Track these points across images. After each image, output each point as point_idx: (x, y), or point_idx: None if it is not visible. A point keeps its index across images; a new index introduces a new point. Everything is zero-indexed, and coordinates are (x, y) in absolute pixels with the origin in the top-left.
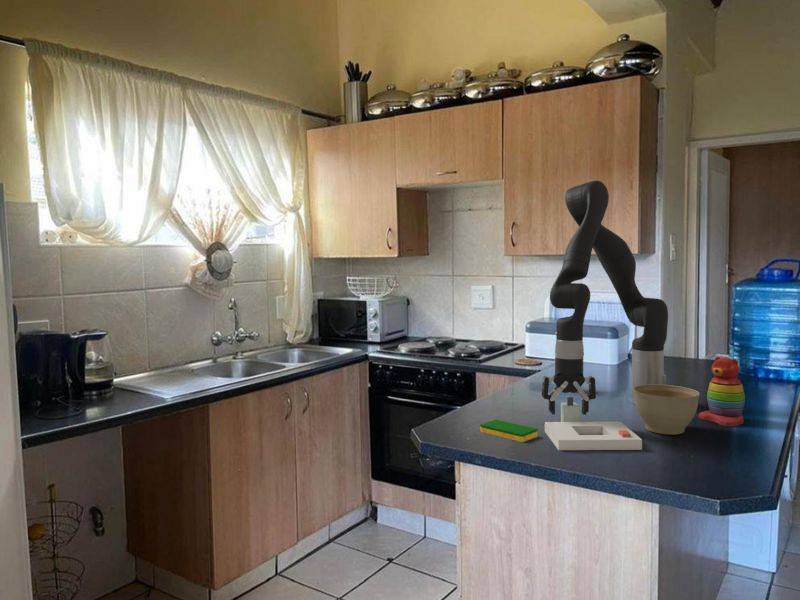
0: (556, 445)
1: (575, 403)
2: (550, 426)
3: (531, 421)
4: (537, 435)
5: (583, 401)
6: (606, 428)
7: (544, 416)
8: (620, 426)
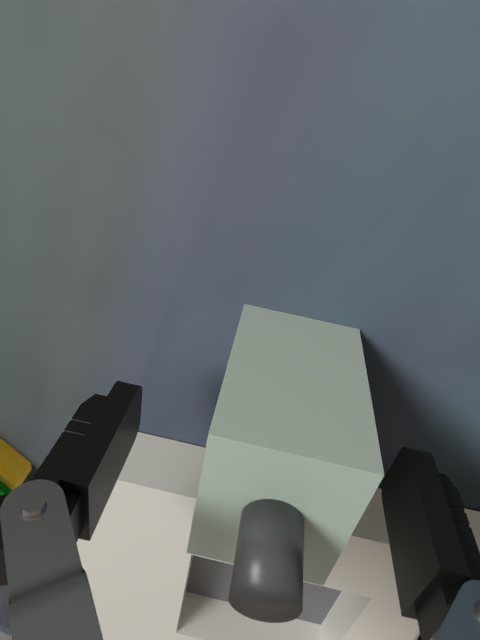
0: None
1: (356, 506)
2: None
3: (20, 189)
4: (28, 473)
5: (410, 601)
6: (362, 626)
7: (181, 21)
8: None
